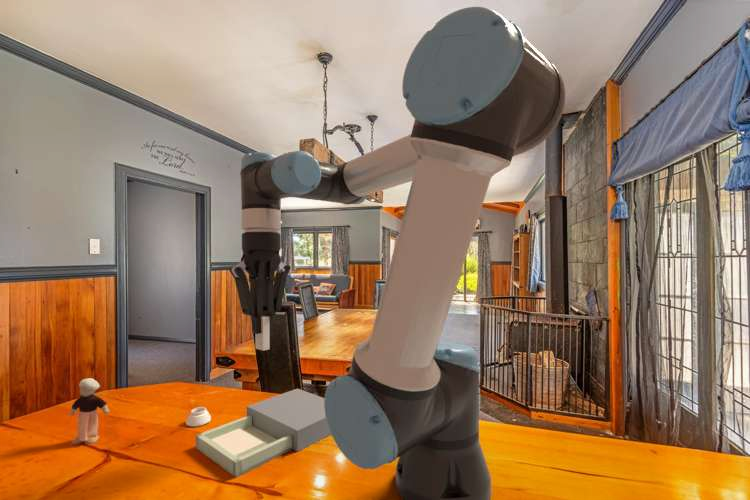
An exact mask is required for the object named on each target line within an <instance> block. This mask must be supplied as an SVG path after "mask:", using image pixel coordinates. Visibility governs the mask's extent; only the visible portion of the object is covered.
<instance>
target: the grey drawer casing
mask: <svg viewBox="0 0 750 500" xmlns="http://www.w3.org/2000/svg"><path fill="white" fill-rule="evenodd" d="M324 399H325V397H322V396H319V395H316V394H314V393H311V392H309V391H306V390H303V389H300V388H296V389H295V388H294V389H292V390H289V391H286V392H283V393H281V394H277V395H275V396H272V397H270V398H269V397H268V398H267V399H263V400H261V401H258V402H255V403H251V404H250V405H249V404H248V405H246V416H249V415H250V416H252V426H254V427H256V428H257V429H259V430H261V431H263V432H265V433H267V434H269V435H271V436H272V437H274V438H276V439H278V440H279V439H281V438H283V437H285V436H287V435H290V436H292V450H293V451H295V452H299V451H302V450H303V449H306V448H308V447H310V446H311V445H314V444H316V443H318V442H319V441H322V440H323V439H325V438H327V437H329V436H332V435H331V432H330V429H329V426H328V424H327V420H326V415H325V408H324Z"/></svg>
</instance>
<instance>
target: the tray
mask: <svg viewBox="0 0 750 500" xmlns="http://www.w3.org/2000/svg"><path fill="white" fill-rule="evenodd" d="M239 428H240V429H242V430H243V431H245V432H247V433H249V434H250V435H252V436H254V437H255V438H257V439H259V440H261V441H262V442H264V446H263V447H261V448H259V449H257V450H255V451H253V452H250V453H248V454H246V455H244V456H242V457H240V458H237V457H236V456H234V455H233V454H231V453H230V452H228V451H227V450H225V449H224V448H222V447H221V446H219V445H218V444H216V443H215V442H213V441H212V440H211V439H213V438H216V437H219V436H221V435H224V434H226V433H229V432H231V431H234V430H237V429H239ZM195 449H196V450H198V451H199V452H200V453H202V454H203V455H204V456H206V457H207V458H209V459H210V460H212V461H213V462H214V463H215V464H217V465H218V466H220V468H222V469H223V470H225V471H226V472H228V473H229V474H230V475H232V476H233V477H234V478H239V477H240V476H242V475H244V474H246V473H248V472H249V471H252V470H254V469H256V468H258V467H260V466H262V465H264V464H266V463H268V462H269V461H271V460H274V459H276V458H278V457H280V456H281V455H284V454H286V453H288V452H289V451H292V450H293V449H292V436H290V435H287V436H285V437H283V438H281V439H279V440H278V439H276V438H274V437H272V436H271V435H269V434H267V433H265V432H263V431H261V430H259V429H257V428H256V427H254V426H252V416H250V415H249V416H247V415H246V416H244V417H241V418H239V419H238V418H237V419H235V420H233V421H231V422H228V423H225V424H222V425H220V426H217V427H215V428H212V429H209V430H206V431H203V432H200V433H198V434H195Z"/></svg>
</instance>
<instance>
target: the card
mask: <svg viewBox="0 0 750 500" xmlns="http://www.w3.org/2000/svg"><path fill="white" fill-rule="evenodd" d="M211 440H212V441H213V442H215V443H216V444H218V445H219V446H221V447H222V448H224V449H225V450H227V451H228V452H230V453H231V454H233V455H234V456H236V457H237V458H240V457H242V456H244V455H246V454H248V453H250V452H253V451H255V450H257V449H259V448H261V447H263V446H264V442H262V441H261V440H259V439H257V438H255V437H254V436H252V435H250V434H249V433H247V432H245V431H243V430H242V429H240V428H239V429H237V430H234V431H231V432H229V433H226V434H224V435H221V436H219V437H216V438H213V439H211Z"/></svg>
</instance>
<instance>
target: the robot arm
mask: <svg viewBox="0 0 750 500" xmlns="http://www.w3.org/2000/svg"><path fill="white" fill-rule="evenodd" d="M401 86H402V87H401V88H402V89H401V90H402V97H403V98H404V99H405V107H406V108H407V110H408V112H410V114H411V116H412V117H413V118H414V121H413V126H412V130H411V133H410V134H408V135H406V136H403V137H402V138H399V139H396V140H394V141H391V142H390V143H388V144H385V145H383V146H381V147H379V148H376V149H374V150H371V151H370V152H367V153H365V154H362V155H361V156H358V157H356V158H353V159H351V160H349V161H346V162H344V163H341V164H332V163H327V162H323V161H319V160H317V159H316V158H315V157H314V156H313V155H312V154H310V153H309V152H307V151H305V150H295V151H289V152H288V151H287V152H284V153H283V154H281V155H278V156H277V155H275V154H273V153H269V152H261V151H255V152H248V153H246V154H244V155H243V156H242V158H241V166H240V167H241V168H240V174H239V175H240V190H241V191H240V194H241V198H240V199H241V229H242V230H243V231H244V232H242V234H241V250H242V256H241V258H240V262H239V263H238V264H237V265H235V266H231V267H230V268H229V273H230V274H231V276H232V277H233V279H234V283H235V287H236V291H237V296H238V299H239V303H240V308H241V309H240V310H241V313H242V314H243V315H245V316H249V317H251V331H252V334H255V337H254V339H255V340H254V341H255V350H260V351H262V352H263V351H268V350H270V348H271V347H270V346H271V345H270V343H271V342H270V341H271V340H270V339H271V338H270V337H271V335H270V334H271V333H270V332H272V330H273V317H275V316H276V314H277V312H281V309H282V304H283V300H284V294H285V289H286V288H285V287H286V285H287V284H286V283H287V278H288V274H289V273H290V270H291V268H292V267H291V265H289V264H287V265H286V264H285V263H284V262H283V261H282V258H281V256H280V250H281V248H282V247H281V243H282V242H281V241H282V239H281V238H282V237H281V234H280V232H279V231H280V230H281V222H282V221H281V200H282V199H286V198H296V199H305V200H313V201H321V202H329V203H336V204H337V203H338V204H343V205H348V206H349V205H360V204H363V203H364V202H365V200H366V199H367V198H368V197H369V195H373V194H375V193H378V192H382V191H385V190H388V189H391V188H394V187H397V186H400V185H403V184H406V183H409V182H410V188H409V192H408V195H407V199H406V200H407V201H406V204H405V207H404V211H403V215H402V217H401V221H400V225H399V230H398V232H397V237H396V241H395V244H394V247H393V252H392V255H391V260H390V263H389V267H388V270H387V273H386V278H385V281H384V282H385V283H384V285H383V289H382V292H381V296H380V301H379V303H378V307H377V312H376V315H375V318H374V323H373V327H372V329H371V334H370V337H368V338H366V339H364V340H362V341H361V342H359V344H357V345H356V347H355V349H354V352H353V356H352V360H351V364H350V368H349V371H348V372H347V374H339V375H337V377H336V378H334V379H332V380H331V381H330V382H329V384H328V385H327V387H326V390H325V394H324V398H325V399H324V408H325V415H326V420H327V424H328V426H329V429H330V432H331V435H330V436H332V439H333V440H334V443H335V444H336V446H337V448H338V449H339V450H340V452H341V453H342V454H343V456H344V457H346V459H347V460H348V461H350V462H351V463H352V464H354V465H355V466H356V467H358V468H360V469H363V470H376V469H378V468H380V467H382V466H384V465H386V464H391V463H393V462H395V461H396V460H397V459H398V460H397V463H396V467H395V487H396V490H397V492H398V494H399V496H400V498H402V499H403V500H491V497H492V479H491V472H490V470H489V468H488V467H489V466H488V464H487V462H486V458H485V454H484V451H483V448H482V446H481V443H480V402H479V401H480V397H479V396H480V392H479V391H480V383H479V382H480V378H479V377H480V376H479V374H480V369H479V361H478V359H479V358H478V353H477V352H476V350H475V349H473V347H471V346H469V345H466V344H462V343H459V342H454V341H446V340H440V339H441V336H442V333H443V330H444V326H445V324H446V320H447V317H448V315H449V311H450V308H451V304H452V301H453V298H454V295H455V291H456V290H457V289H456V288H457V285H458V283H459V280H460V276H461V272H462V270H463V267H464V264H465V261H466V258H467V255H468V250H469V248H470V245H471V243H472V239H473V236H474V232H475V230H476V226H477V223H478V220H479V217H480V214H481V211H482V207H483V204H484V201H485V198H486V195H487V193H488V190H489V187H490V182H491V179H492V177H493V176H494V175H496V174H498V173H500V172H501V171H503V170H505V169H506V168H509V166H511V163H512V159H513V157H515V156H519V155H521V154H523V153H524V154H525V153H526V152H528V151H530V150H532V149H534V148H536V147H537V146H539V145H541V143H543V142H544V141H545V140H546V139H547V138H548V137H549V136H550V135H551V134H552V133H553V131H555V128H556V127H557V125H558V124H559V122H560V120H561V119H562V115H563V112H564V109H565V104H566V89H565V84H564V80H563V78H562V75H561V74H560V72H559V70H558V68H557V67H556V66H555V65H554V64H553V62H551V61H550V60H549V59H548V58H546V57H545V56H544V55H543V54H542V53H541V52H540V51H538V50H537V48H535V46H533V45H532V44H531V43H530V42H529V41H528V40H527V39H526V38H525V37H524V36H523V34H522V30H521V29H520V28H519V27H518V25H516V24H515V23H514V22H513V21H511V20H507V19H506V18H504V17H503V16H502V14H499V13H498V12H496V10H493V9H490V8H488V7H483V6H470V7H465V8H460V9H458V10H455V11H453V12H451V13H449V14H448V15H445V16H443V17H442V18H441V19H439V20H438V21H437V22H436V23H435V25H434V26H433V27H432V28H431V29H430V30H428V31H426V32H425V33H424V34H423V36H422V37H421V38H420V40H419V41H418V42H417V44H416V45H415V46H414V48H413V50H412V52H411V53H410V55H409V58H408V61H407V63H406V66H405V68H404V72H403V77H402V85H401ZM246 274H247V275H248V277H247V275H246ZM249 284H250V285H249Z"/></svg>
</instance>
